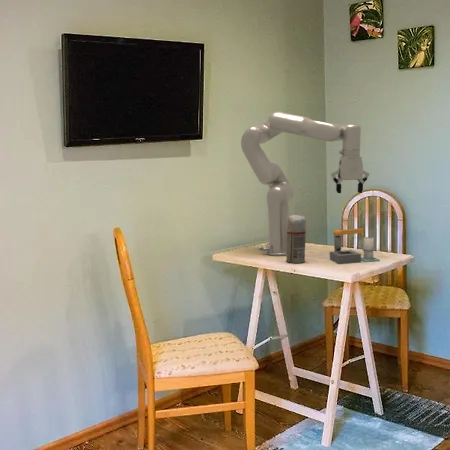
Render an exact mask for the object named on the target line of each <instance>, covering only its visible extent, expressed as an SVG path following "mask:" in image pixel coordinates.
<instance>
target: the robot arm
mask: <svg viewBox="0 0 450 450" xmlns="http://www.w3.org/2000/svg"><path fill="white" fill-rule="evenodd" d="M245 129H246V130H244V132H243V134H242V136H241V140H240V144H241V145H240V147H241V149H242V150H241V151H242V153H243V154H244V158H246V160H247V162H248V164H249V165H250V167H251V169H252V171H253V173H254V175H255V176H256V177H257V179H258V180H257V181H259V182H260V183H261V184H262V185H267V187H268V188H269V189H268V191H267V193H266V203H267V214H268V243H266V244H265V245H259V246H258V250H259V251H265V254H266V255H269V256H275V257H279V256H280V257H281V256H283V257H284V256H287V255H286V248H287V246H286V245H287V244H286V243H287V223H288V217H289V216H290V209H289V202H291V201H292V199H293V197H294V189H293V186H292V184H291V183H290V181H289V179H288V178H287V176H286V175H285V173H284V170H282V168H281V167H280V166H279V165H278V164H277V163H274V162H271V160H269V158H268V156H267V154H266V152H265V151H264V150H263V148H262V147H261V145H262V144H265V143H267V142H269V141H271V140H272V139H274V138H275V137H277V136H279V135H280V134H282V133H285V134H291V135H296V136H300V137H305V138H311V139H315V140H319V141H325V142H330V143H331V142H338V141H339V142H340V141H342V149H341V150H339V151H338V154H339V155H341V156H340V157H339V162H338V169H337V170H335V171H333V172H331V173H330V176H331V179H332V180H333V182H334V183H335V187H336V189H335V191H336V193H338V194H341V193H342V184H341V183H343V181H358V183H357V193H359V194H362V193H363V191H364V184H365V182H366V181H367V180H368V178H369V176H370V173H369V172H367V171H365V170H364V164H363V157H362V156H361V155H360V154H361V136H362V135H361V133H362V132H361V131H362V130H361V129H362V127H361V126H360V125H359V124H340V123H339V124H338V123H328V122H323V121H319V120H314V119H311V118H309V117H307V116H305V115H304V116H302V115H297V114H293V113H288V112H287V113H286V112H285V111H274V112H272V113H271V114H270V115H269V116H268V118H267V120H266V121H264V122H262V123H261V124H254V125H251V126H249V127H247V128H245ZM336 175H337V176H336Z"/></svg>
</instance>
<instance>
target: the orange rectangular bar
mask: <svg viewBox="0 0 450 450" xmlns="http://www.w3.org/2000/svg"><path fill="white" fill-rule="evenodd" d="M355 234H357V235H359V236H364V228H360V227H359V228H349V229H333V236H345V235H355Z"/></svg>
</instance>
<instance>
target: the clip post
mask: <svg viewBox="0 0 450 450" xmlns="http://www.w3.org/2000/svg"><path fill="white" fill-rule="evenodd" d="M333 237H334V239H333V241H334V242H333V243H334V244H333V247H334V248H333V251H342V235H340V236H335V235H333Z"/></svg>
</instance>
